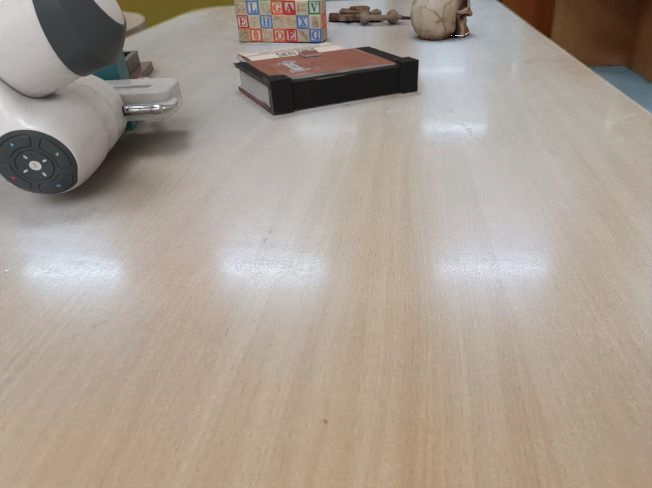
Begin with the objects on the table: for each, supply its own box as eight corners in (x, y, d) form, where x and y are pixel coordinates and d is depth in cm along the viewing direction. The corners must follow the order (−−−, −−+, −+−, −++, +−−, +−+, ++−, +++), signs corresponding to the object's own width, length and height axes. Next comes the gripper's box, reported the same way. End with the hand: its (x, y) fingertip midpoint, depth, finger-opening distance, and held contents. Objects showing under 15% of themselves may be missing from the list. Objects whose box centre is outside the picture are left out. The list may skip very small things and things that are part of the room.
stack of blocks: (328, 38, 129) (325, -18, 122) (322, 43, 124) (319, -15, 117) (247, 37, 132) (241, -18, 125) (238, 41, 127) (231, -15, 120)
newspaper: (320, 49, 118) (320, 37, 117) (351, 63, 111) (351, 51, 109) (229, 61, 107) (228, 49, 105) (256, 79, 100) (255, 66, 98)
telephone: (443, 24, 143) (444, 7, 141) (325, 25, 145) (324, 9, 143) (438, 19, 156) (439, 3, 154) (330, 20, 158) (330, 4, 155)
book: (366, 70, 100) (366, 43, 97) (417, 90, 87) (418, 59, 85) (237, 89, 90) (233, 59, 87) (273, 115, 77) (270, 81, 74)
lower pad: (69, 90, 91) (61, 66, 88) (91, 71, 102) (85, 50, 100) (139, 86, 92) (133, 63, 90) (153, 68, 104) (148, 47, 101)
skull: (467, 28, 137) (471, -28, 128) (475, 49, 124) (481, -13, 115) (408, 31, 138) (409, -25, 129) (410, 52, 125) (411, -9, 116)
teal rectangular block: (103, 131, 72) (81, 55, 66) (112, 120, 76) (92, 48, 70) (133, 129, 72) (113, 54, 67) (140, 118, 77) (122, 47, 71)
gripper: (169, 82, 60) (184, 57, 71) (-18, 91, 58) (28, 64, 69) (180, 134, 64) (193, 103, 75) (4, 145, 61) (45, 111, 72)
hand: (113, 84), depth 72 cm, fingers open, 7 cm apart
